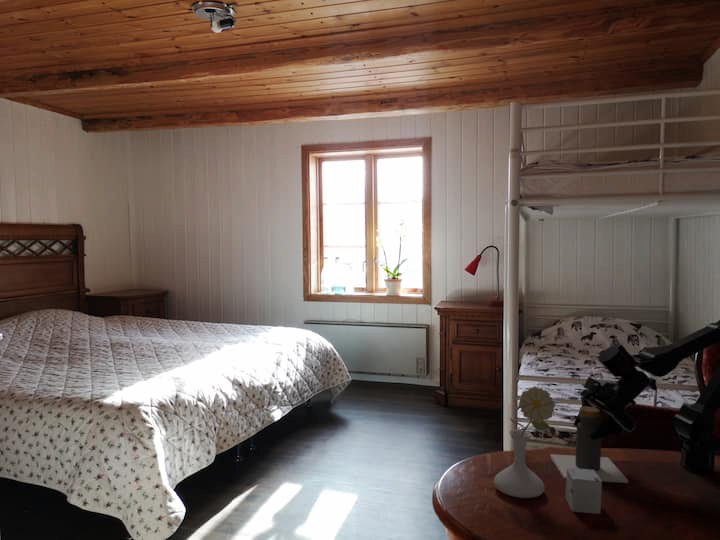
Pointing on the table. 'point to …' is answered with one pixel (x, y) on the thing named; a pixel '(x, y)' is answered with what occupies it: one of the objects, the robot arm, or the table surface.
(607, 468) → the letter card
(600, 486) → the skincare box
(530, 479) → the flower in vase
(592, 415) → the bottle
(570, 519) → the table surface
